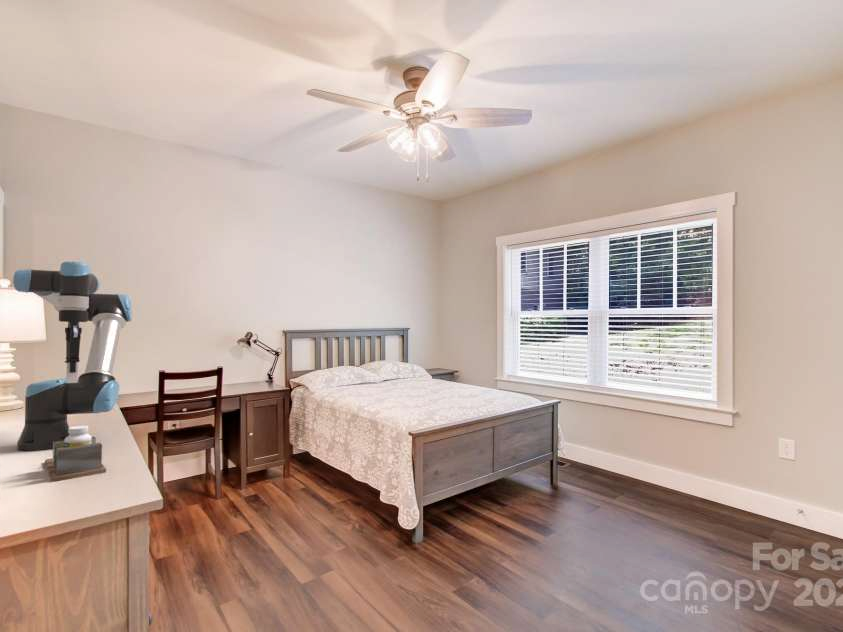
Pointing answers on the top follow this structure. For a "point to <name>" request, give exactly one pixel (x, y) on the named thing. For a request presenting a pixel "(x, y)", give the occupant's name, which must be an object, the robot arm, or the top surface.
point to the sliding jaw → (61, 445)
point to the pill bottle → (77, 436)
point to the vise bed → (76, 462)
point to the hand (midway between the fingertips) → (71, 382)
